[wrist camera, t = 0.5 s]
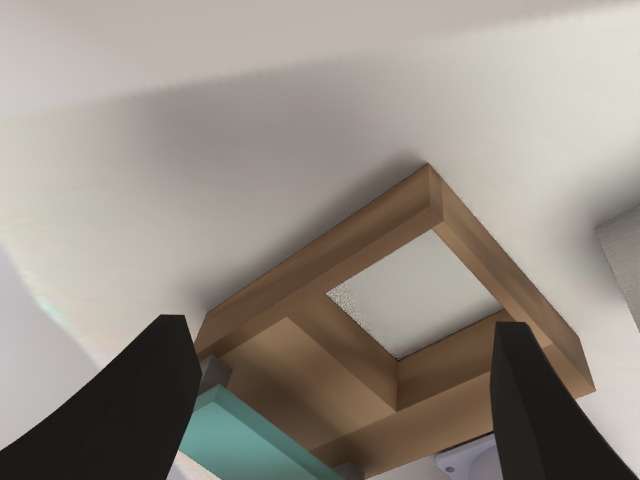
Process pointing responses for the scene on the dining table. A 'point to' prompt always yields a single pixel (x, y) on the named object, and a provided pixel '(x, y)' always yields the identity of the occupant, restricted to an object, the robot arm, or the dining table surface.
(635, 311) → the peg
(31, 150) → the dining table surface
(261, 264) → the dining table surface
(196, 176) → the dining table surface
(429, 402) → the socket board
